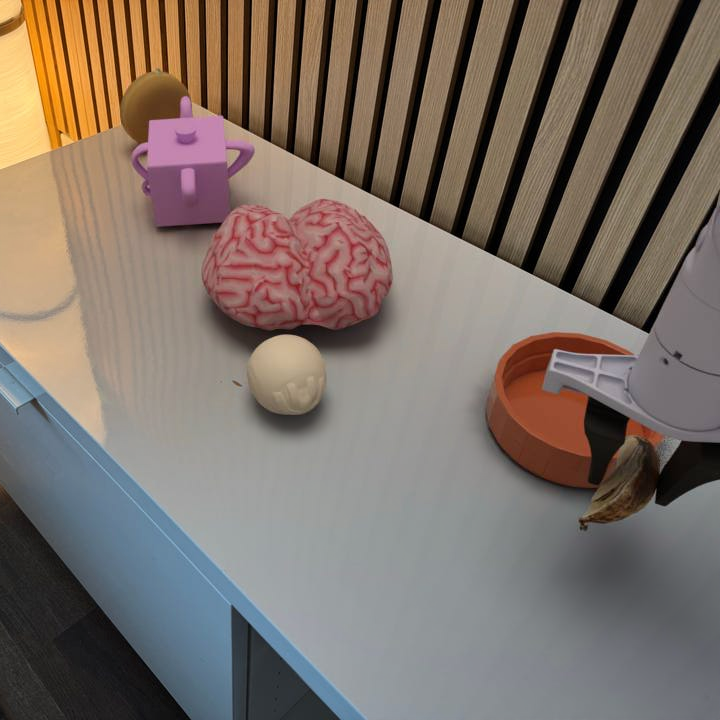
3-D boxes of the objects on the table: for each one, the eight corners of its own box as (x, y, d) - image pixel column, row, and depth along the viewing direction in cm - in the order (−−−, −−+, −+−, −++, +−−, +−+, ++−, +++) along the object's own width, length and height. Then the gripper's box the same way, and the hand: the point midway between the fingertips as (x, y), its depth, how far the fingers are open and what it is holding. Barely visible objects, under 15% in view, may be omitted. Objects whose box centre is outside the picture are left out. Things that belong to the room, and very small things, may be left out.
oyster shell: (597, 507, 56) (596, 562, 47) (566, 465, 57) (560, 512, 48) (674, 468, 54) (689, 518, 45) (642, 425, 54) (650, 466, 45)
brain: (364, 232, 85) (372, 152, 78) (407, 344, 72) (421, 262, 65) (197, 249, 84) (189, 170, 77) (211, 365, 71) (204, 284, 64)
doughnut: (185, 127, 103) (177, 55, 95) (198, 139, 100) (192, 65, 93) (122, 149, 99) (110, 75, 92) (135, 161, 97) (124, 87, 90)
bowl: (658, 393, 67) (678, 358, 64) (644, 514, 58) (666, 481, 55) (502, 351, 71) (513, 316, 68) (468, 458, 63) (479, 424, 60)
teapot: (141, 164, 96) (130, 89, 89) (250, 157, 97) (247, 81, 89) (136, 251, 84) (123, 172, 77) (261, 243, 84) (259, 163, 77)
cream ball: (269, 443, 65) (268, 391, 60) (237, 385, 69) (234, 333, 65) (340, 419, 66) (344, 366, 61) (304, 364, 71) (306, 311, 66)
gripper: (859, 327, 41) (748, 473, 51) (581, 264, 46) (528, 409, 56) (873, 419, 37) (749, 559, 47) (563, 339, 41) (509, 482, 51)
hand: (628, 483), depth 51 cm, fingers closed on oyster shell, 3 cm apart
